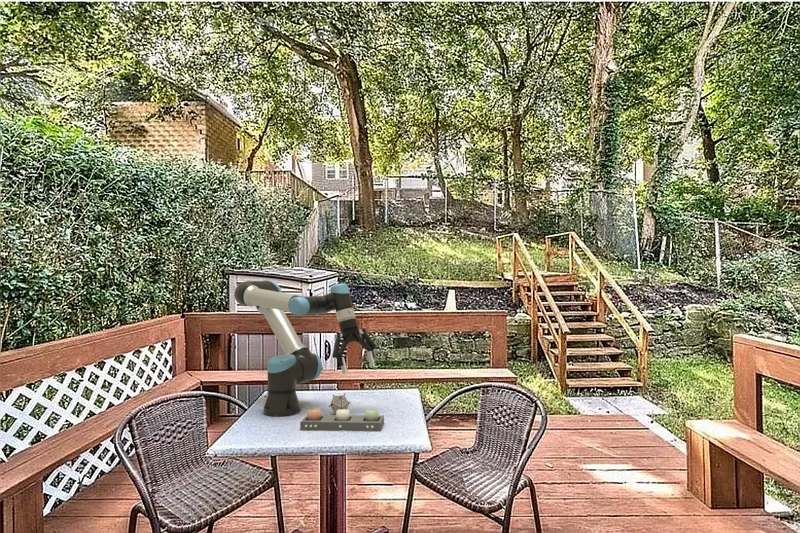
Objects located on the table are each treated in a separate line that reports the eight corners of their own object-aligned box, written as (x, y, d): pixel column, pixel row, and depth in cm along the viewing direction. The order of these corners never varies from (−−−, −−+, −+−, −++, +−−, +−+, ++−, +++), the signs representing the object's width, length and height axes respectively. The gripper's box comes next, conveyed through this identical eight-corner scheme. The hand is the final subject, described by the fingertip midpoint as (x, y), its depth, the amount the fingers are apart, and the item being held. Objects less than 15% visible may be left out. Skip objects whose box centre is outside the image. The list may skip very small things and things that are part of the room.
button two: (364, 422, 206) (364, 412, 206) (366, 419, 211) (366, 409, 211) (377, 422, 205) (377, 412, 205) (379, 419, 210) (379, 409, 210)
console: (299, 430, 204) (299, 422, 204) (307, 422, 215) (307, 414, 215) (380, 431, 202) (380, 423, 202) (384, 423, 213) (383, 415, 213)
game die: (342, 423, 227) (345, 407, 221) (324, 415, 229) (326, 399, 223) (351, 409, 234) (355, 392, 229) (333, 401, 236) (336, 385, 230)
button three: (306, 422, 207) (306, 411, 207) (309, 418, 212) (309, 408, 212) (319, 422, 207) (319, 412, 207) (322, 418, 212) (322, 408, 212)
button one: (335, 422, 206) (335, 412, 207) (337, 419, 211) (337, 409, 212) (348, 422, 206) (348, 412, 206) (350, 419, 211) (350, 409, 211)
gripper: (325, 322, 220) (337, 375, 216) (376, 313, 236) (388, 362, 232) (316, 326, 226) (328, 377, 222) (366, 317, 241) (378, 365, 237)
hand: (359, 370), depth 227 cm, fingers open, 13 cm apart
